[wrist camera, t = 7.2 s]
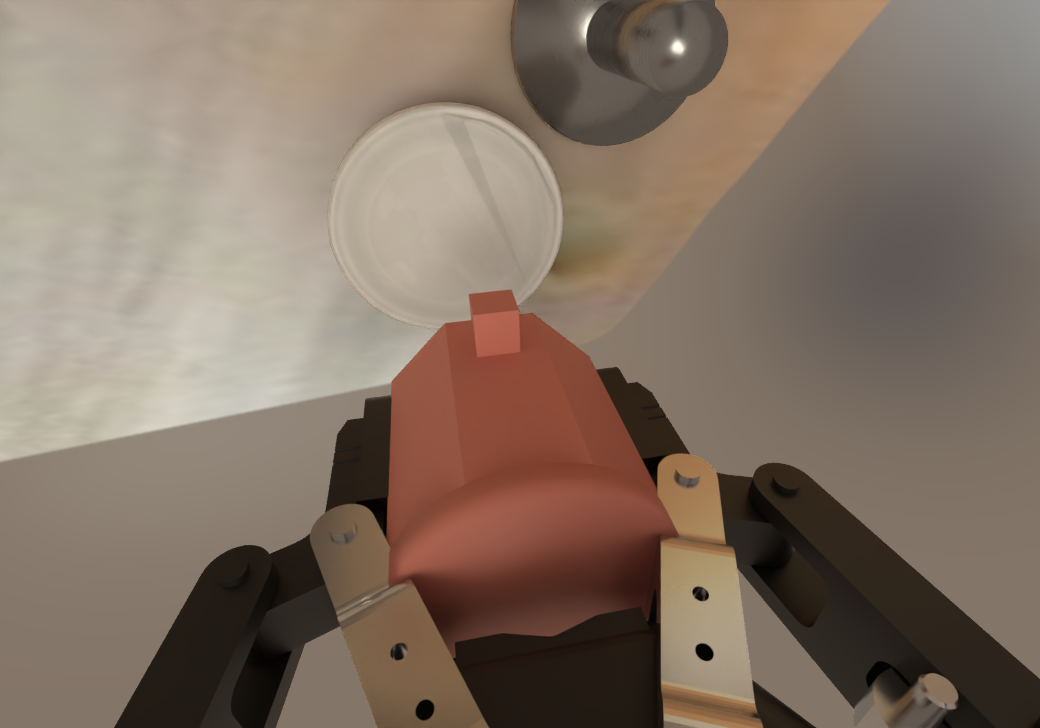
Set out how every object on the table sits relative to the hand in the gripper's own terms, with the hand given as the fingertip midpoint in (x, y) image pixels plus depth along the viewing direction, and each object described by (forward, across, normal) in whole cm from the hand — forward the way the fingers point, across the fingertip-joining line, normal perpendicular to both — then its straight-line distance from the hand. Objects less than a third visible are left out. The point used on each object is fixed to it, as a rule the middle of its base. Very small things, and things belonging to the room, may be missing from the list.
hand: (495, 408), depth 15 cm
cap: (0, 0, 0) cm, 0 cm away
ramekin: (+19, 0, 0) cm, 19 cm away
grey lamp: (+18, -9, -8) cm, 22 cm away
